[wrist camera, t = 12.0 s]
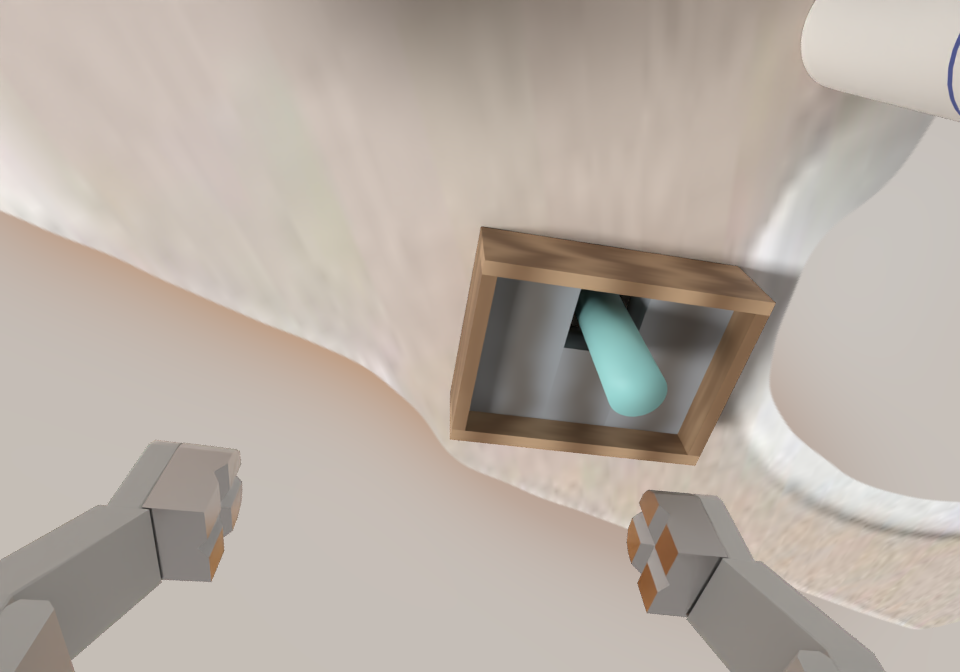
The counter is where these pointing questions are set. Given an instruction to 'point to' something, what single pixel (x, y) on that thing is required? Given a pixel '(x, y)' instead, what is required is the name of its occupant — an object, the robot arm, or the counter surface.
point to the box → (567, 360)
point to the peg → (619, 354)
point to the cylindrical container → (887, 51)
